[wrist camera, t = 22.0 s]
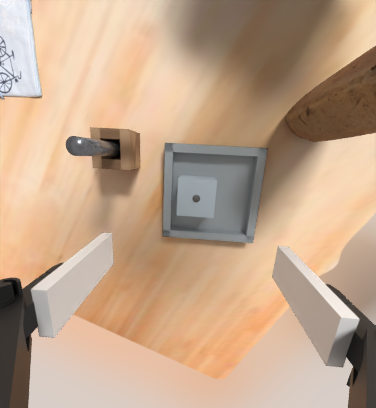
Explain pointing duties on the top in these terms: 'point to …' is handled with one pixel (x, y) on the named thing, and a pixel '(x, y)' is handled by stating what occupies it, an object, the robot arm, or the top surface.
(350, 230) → the top surface
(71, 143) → the rod
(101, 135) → the bored block
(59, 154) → the top surface
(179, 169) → the tray
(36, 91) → the folded bicycle print cloth
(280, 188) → the top surface
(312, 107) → the block
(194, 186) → the block
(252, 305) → the top surface
